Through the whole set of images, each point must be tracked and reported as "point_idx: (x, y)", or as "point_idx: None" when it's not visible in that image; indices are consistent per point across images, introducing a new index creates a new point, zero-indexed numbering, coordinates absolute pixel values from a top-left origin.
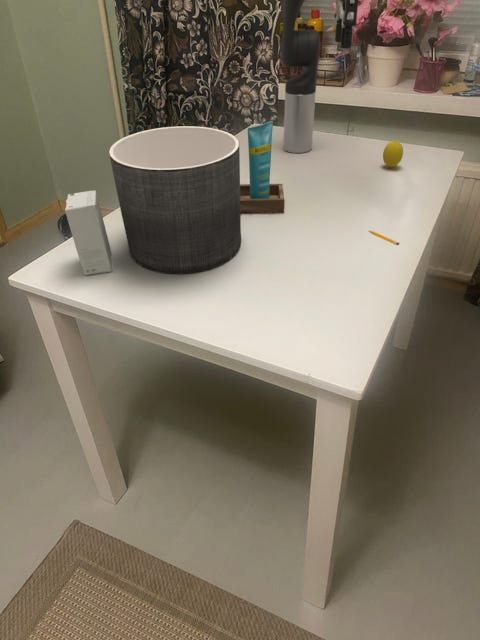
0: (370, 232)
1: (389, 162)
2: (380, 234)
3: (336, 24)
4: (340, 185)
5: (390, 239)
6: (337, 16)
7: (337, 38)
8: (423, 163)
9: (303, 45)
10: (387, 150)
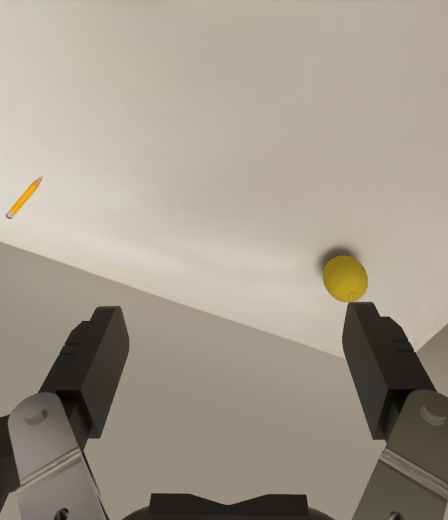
0: (36, 180)
1: (326, 264)
2: (27, 195)
3: (399, 382)
4: (249, 149)
5: (15, 207)
6: (388, 444)
7: (351, 321)
8: None
9: None
10: (339, 271)
